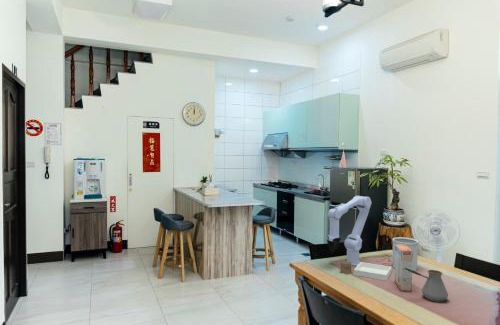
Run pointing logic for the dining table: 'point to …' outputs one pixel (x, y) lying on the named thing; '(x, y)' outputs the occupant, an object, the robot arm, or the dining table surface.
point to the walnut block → (345, 267)
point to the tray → (373, 271)
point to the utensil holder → (411, 244)
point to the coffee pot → (433, 286)
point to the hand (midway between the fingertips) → (333, 250)
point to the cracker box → (403, 267)
